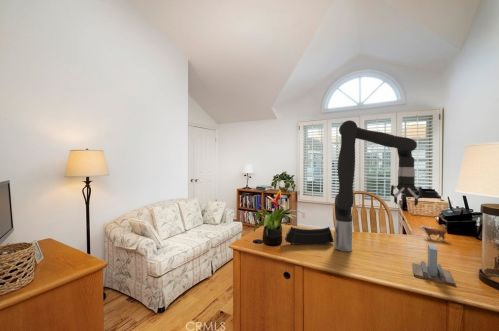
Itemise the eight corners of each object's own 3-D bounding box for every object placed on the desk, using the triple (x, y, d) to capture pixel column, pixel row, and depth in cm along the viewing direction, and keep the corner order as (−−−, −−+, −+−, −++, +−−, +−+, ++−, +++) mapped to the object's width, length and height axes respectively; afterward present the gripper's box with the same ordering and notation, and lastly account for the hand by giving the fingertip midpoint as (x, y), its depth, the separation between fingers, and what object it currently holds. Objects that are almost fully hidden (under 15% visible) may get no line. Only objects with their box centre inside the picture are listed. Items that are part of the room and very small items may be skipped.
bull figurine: (419, 235, 152) (419, 224, 152) (445, 240, 144) (445, 227, 144) (419, 237, 149) (420, 225, 148) (446, 242, 141) (446, 229, 141)
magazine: (335, 228, 141) (291, 215, 139) (337, 230, 138) (292, 217, 136) (327, 253, 141) (283, 241, 139) (330, 256, 138) (284, 243, 136)
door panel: (429, 275, 99) (430, 248, 98) (427, 267, 105) (428, 243, 105) (436, 276, 97) (437, 250, 97) (434, 269, 104) (434, 244, 104)
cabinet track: (413, 276, 100) (413, 269, 100) (412, 264, 110) (412, 258, 110) (455, 286, 92) (455, 279, 92) (449, 272, 103) (449, 266, 102)
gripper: (390, 175, 122) (390, 204, 122) (423, 176, 114) (422, 207, 114) (391, 174, 128) (390, 202, 128) (422, 175, 120) (421, 204, 120)
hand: (405, 204), depth 121 cm, fingers open, 8 cm apart
